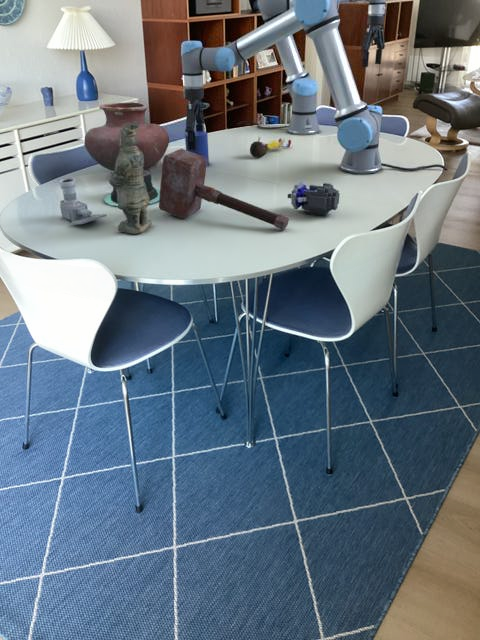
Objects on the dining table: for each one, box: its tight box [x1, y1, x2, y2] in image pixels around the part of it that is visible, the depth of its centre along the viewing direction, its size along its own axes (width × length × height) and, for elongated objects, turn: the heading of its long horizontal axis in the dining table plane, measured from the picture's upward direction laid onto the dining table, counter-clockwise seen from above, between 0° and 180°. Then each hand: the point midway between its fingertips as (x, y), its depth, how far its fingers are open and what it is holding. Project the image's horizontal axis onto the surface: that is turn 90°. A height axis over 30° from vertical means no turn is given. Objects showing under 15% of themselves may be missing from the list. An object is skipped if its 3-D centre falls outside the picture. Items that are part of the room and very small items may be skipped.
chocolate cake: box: [103, 169, 160, 207], centre depth 186 cm, size 15×19×20 cm
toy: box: [287, 180, 341, 216], centre depth 168 cm, size 9×9×15 cm
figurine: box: [249, 135, 292, 158], centre depth 235 cm, size 13×8×25 cm
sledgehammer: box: [158, 148, 290, 231], centre depth 163 cm, size 17×10×40 cm
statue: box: [108, 121, 153, 235], centre depth 154 cm, size 11×9×30 cm
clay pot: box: [83, 101, 170, 172], centre depth 207 cm, size 30×30×25 cm
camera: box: [59, 177, 108, 225], centre depth 165 cm, size 9×12×15 cm
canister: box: [184, 130, 210, 168], centre depth 219 cm, size 9×9×12 cm
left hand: (371, 65), depth 268 cm, fingers open, 13 cm apart
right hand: (196, 145), depth 218 cm, fingers open, 13 cm apart
